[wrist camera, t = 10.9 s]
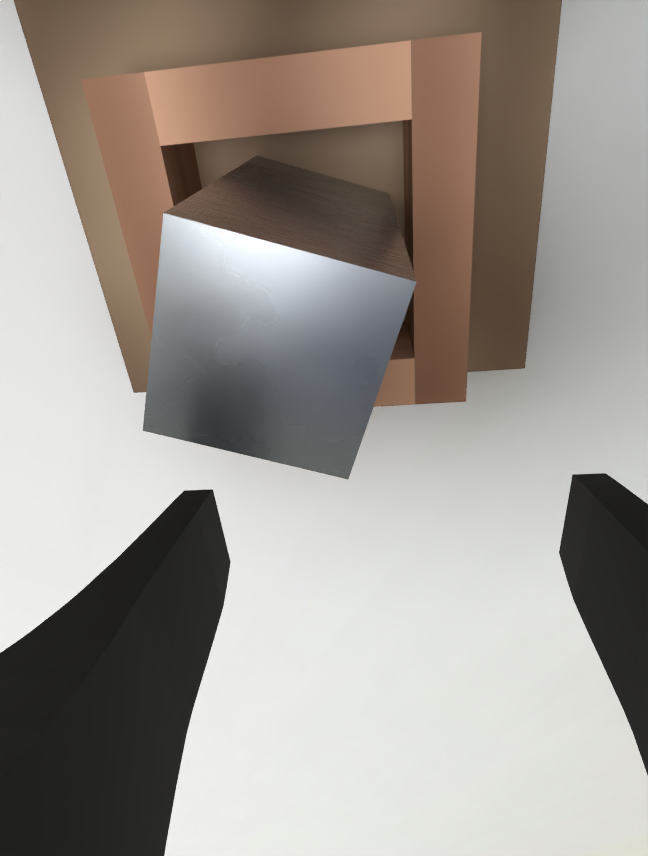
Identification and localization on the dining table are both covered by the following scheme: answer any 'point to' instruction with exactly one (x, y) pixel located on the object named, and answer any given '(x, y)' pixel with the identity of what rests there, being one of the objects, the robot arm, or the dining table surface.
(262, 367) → the steel peg
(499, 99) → the socket station
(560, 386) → the dining table surface
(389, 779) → the dining table surface
